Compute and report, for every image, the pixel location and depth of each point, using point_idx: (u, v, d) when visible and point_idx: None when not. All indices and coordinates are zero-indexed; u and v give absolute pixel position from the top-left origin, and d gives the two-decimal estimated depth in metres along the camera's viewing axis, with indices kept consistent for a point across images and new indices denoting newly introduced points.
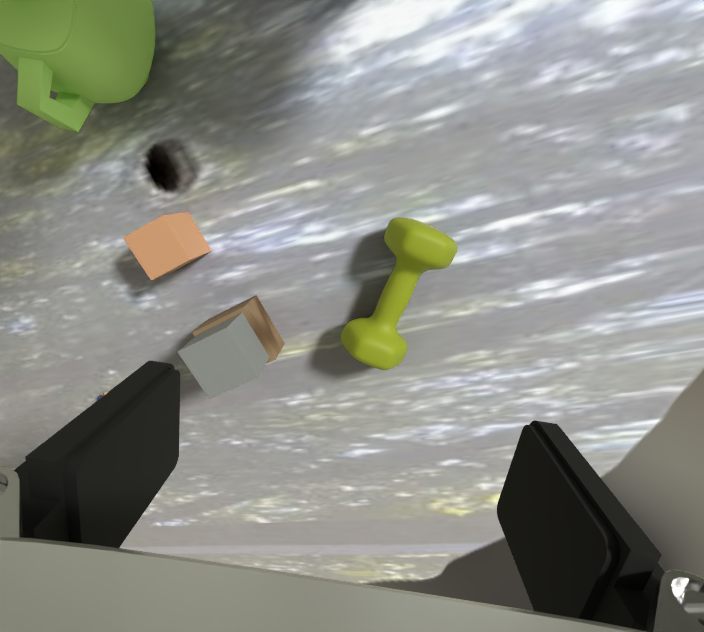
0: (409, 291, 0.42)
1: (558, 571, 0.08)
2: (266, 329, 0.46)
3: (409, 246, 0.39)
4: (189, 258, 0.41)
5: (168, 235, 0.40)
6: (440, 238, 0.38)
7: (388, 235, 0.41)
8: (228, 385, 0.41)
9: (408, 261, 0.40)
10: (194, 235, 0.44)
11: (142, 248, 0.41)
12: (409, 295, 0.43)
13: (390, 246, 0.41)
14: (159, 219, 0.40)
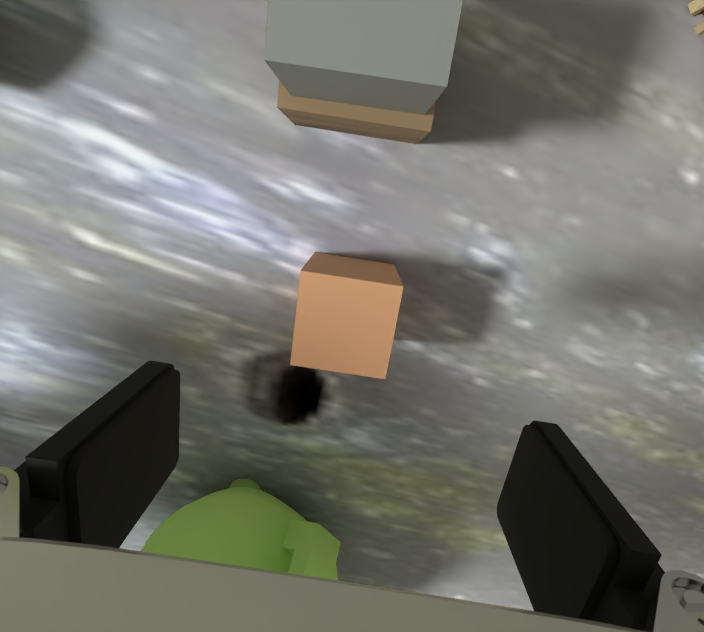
0: None
1: (559, 571, 0.08)
2: None
3: None
4: (301, 273, 0.19)
5: (305, 332, 0.20)
6: None
7: None
8: None
9: None
10: None
11: (368, 344, 0.20)
12: None
13: None
14: (299, 363, 0.20)
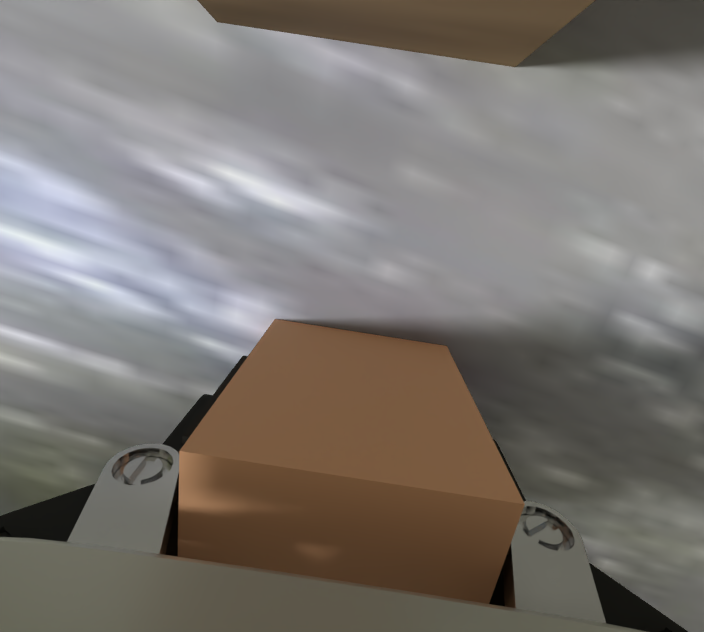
0: None
1: None
2: None
3: None
4: None
5: None
6: None
7: None
8: None
9: None
10: None
11: None
12: None
13: None
14: None
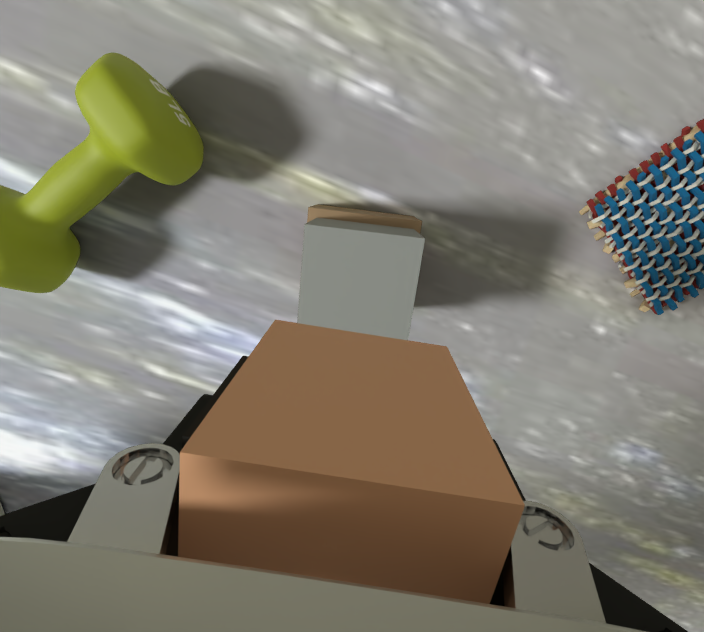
0: (41, 182, 0.24)
1: None
2: None
3: None
4: None
5: None
6: None
7: (49, 280, 0.27)
8: (369, 241, 0.20)
9: (16, 234, 0.24)
10: None
11: None
12: (46, 174, 0.25)
13: (46, 266, 0.26)
14: None
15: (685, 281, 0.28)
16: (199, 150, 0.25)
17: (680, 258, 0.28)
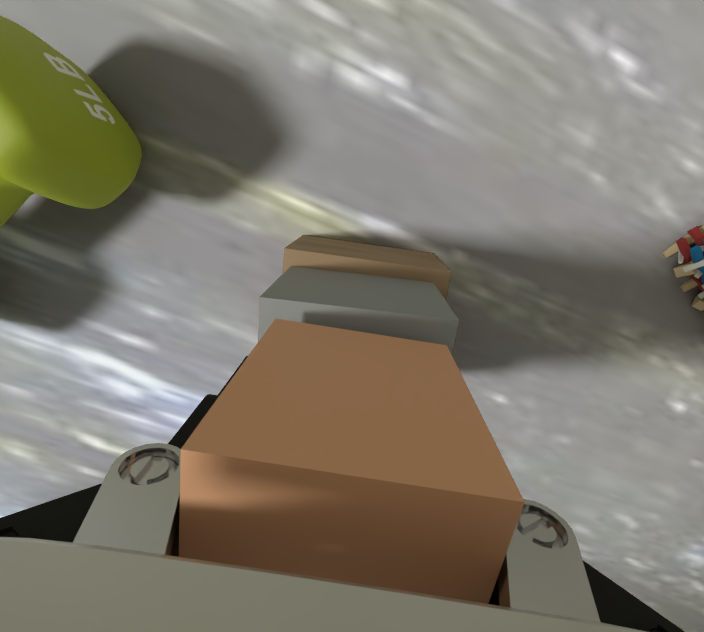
0: None
1: None
2: None
3: None
4: None
5: None
6: None
7: None
8: (366, 324, 0.12)
9: None
10: None
11: None
12: None
13: None
14: None
15: None
16: (128, 158, 0.17)
17: None
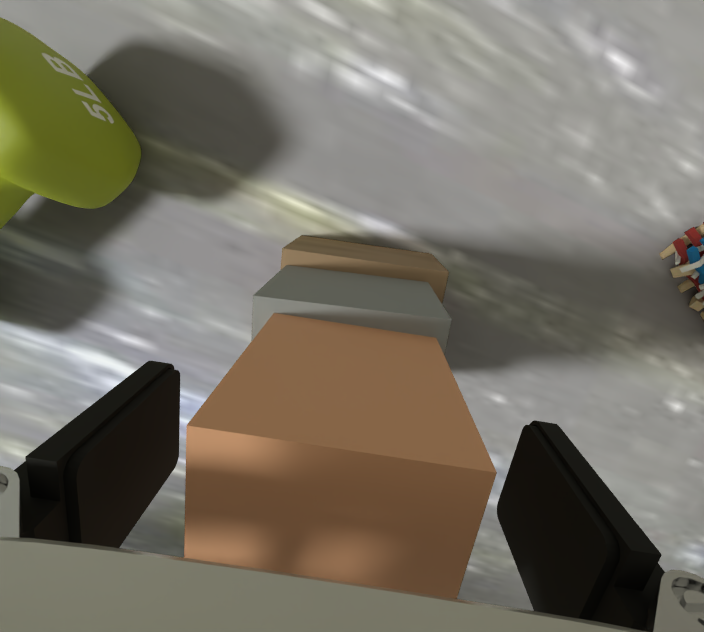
0: None
1: (559, 571, 0.08)
2: None
3: None
4: None
5: None
6: None
7: None
8: (359, 323, 0.12)
9: None
10: None
11: None
12: None
13: None
14: None
15: None
16: (127, 157, 0.17)
17: None
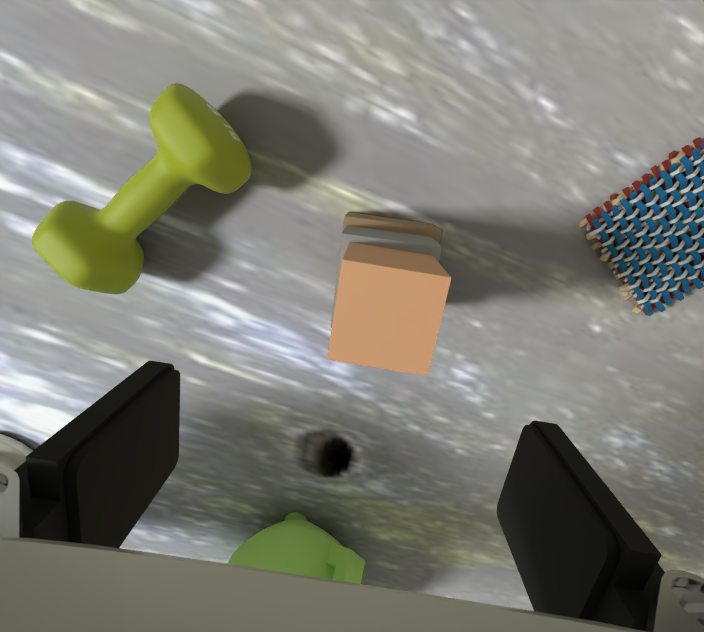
0: (117, 198, 0.29)
1: (558, 570, 0.08)
2: None
3: (79, 268, 0.28)
4: None
5: (344, 325, 0.19)
6: (39, 255, 0.28)
7: (124, 282, 0.31)
8: (395, 248, 0.23)
9: (98, 243, 0.29)
10: None
11: (411, 338, 0.19)
12: (120, 191, 0.29)
13: (122, 270, 0.30)
14: (337, 357, 0.19)
15: (672, 286, 0.32)
16: (249, 161, 0.29)
17: (668, 266, 0.32)
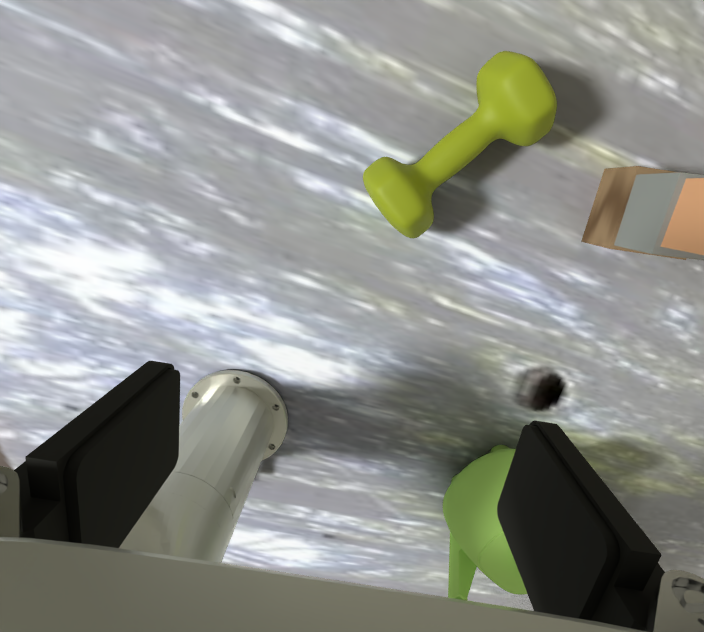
0: (439, 151, 0.34)
1: (558, 571, 0.08)
2: (610, 203, 0.36)
3: (416, 209, 0.33)
4: None
5: None
6: (380, 200, 0.33)
7: (427, 226, 0.36)
8: None
9: (424, 190, 0.34)
10: (691, 211, 0.28)
11: None
12: (441, 145, 0.34)
13: (432, 214, 0.35)
14: None
15: None
16: None
17: None
